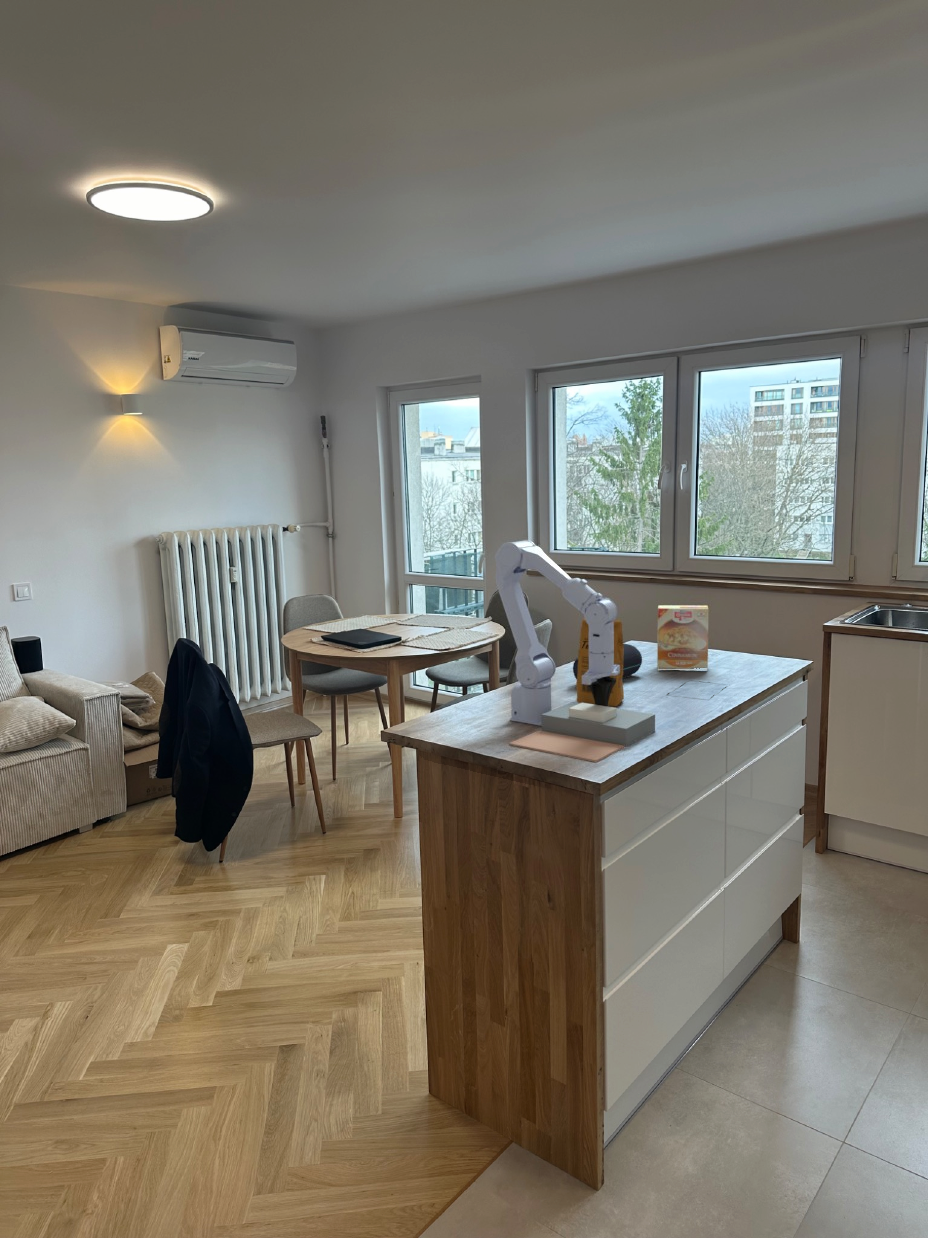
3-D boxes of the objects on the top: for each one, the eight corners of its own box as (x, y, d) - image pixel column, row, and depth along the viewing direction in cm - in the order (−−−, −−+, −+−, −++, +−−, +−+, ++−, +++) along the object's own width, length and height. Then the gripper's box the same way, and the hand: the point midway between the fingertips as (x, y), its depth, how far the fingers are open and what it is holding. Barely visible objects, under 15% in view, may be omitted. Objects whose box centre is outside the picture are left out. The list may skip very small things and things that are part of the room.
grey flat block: (541, 731, 198) (541, 714, 197) (572, 717, 209) (572, 701, 208) (626, 746, 184) (626, 728, 184) (655, 731, 195) (655, 714, 195)
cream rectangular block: (568, 716, 195) (568, 708, 194) (582, 710, 199) (582, 702, 199) (603, 722, 189) (603, 713, 189) (616, 716, 194) (616, 707, 193)
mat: (509, 744, 188) (509, 743, 188) (539, 732, 197) (539, 730, 197) (596, 762, 174) (596, 760, 174) (624, 747, 184) (624, 745, 184)
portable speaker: (618, 672, 260) (618, 639, 258) (645, 676, 253) (645, 643, 251) (566, 686, 242) (566, 652, 241) (595, 691, 235) (594, 656, 234)
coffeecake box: (657, 671, 259) (657, 607, 256) (657, 666, 265) (657, 604, 262) (708, 672, 255) (709, 608, 252) (706, 667, 262) (707, 604, 259)
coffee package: (584, 695, 230) (583, 616, 227) (628, 700, 225) (628, 618, 221) (571, 704, 222) (570, 621, 218) (616, 709, 216) (616, 623, 213)
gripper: (601, 658, 187) (601, 718, 189) (631, 648, 198) (631, 704, 200) (573, 655, 191) (574, 714, 193) (604, 645, 203) (605, 700, 205)
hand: (601, 709), depth 197 cm, fingers closed
